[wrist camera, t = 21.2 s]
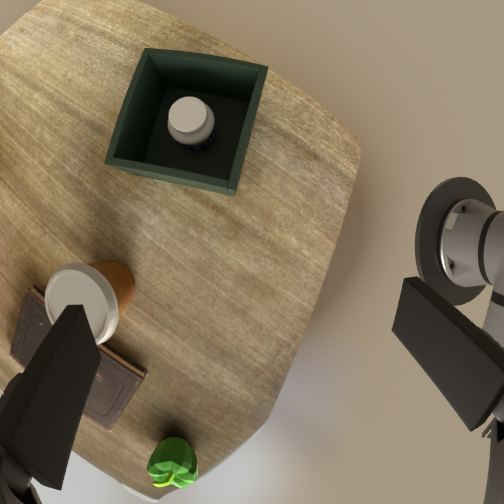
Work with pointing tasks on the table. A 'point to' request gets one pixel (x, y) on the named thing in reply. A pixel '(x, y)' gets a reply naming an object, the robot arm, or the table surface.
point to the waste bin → (157, 113)
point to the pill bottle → (192, 125)
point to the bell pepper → (173, 463)
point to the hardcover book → (108, 374)
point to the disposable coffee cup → (91, 294)
